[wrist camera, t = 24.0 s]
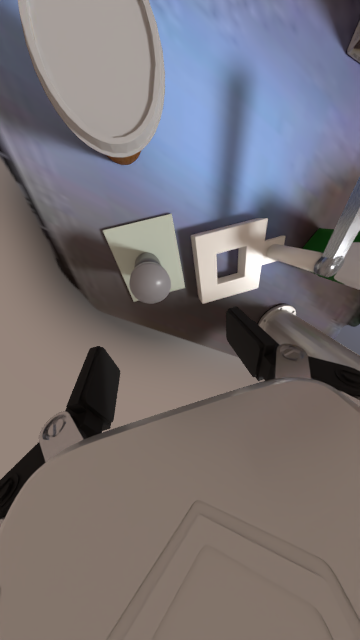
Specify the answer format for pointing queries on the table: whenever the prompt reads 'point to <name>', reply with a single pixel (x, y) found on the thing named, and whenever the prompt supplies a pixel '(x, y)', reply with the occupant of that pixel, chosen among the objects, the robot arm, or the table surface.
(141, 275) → the plug
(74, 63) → the disposable coffee cup
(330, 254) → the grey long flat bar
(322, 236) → the milk carton
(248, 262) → the socket base
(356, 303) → the table surface
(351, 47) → the coffee box
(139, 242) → the rubber mat
